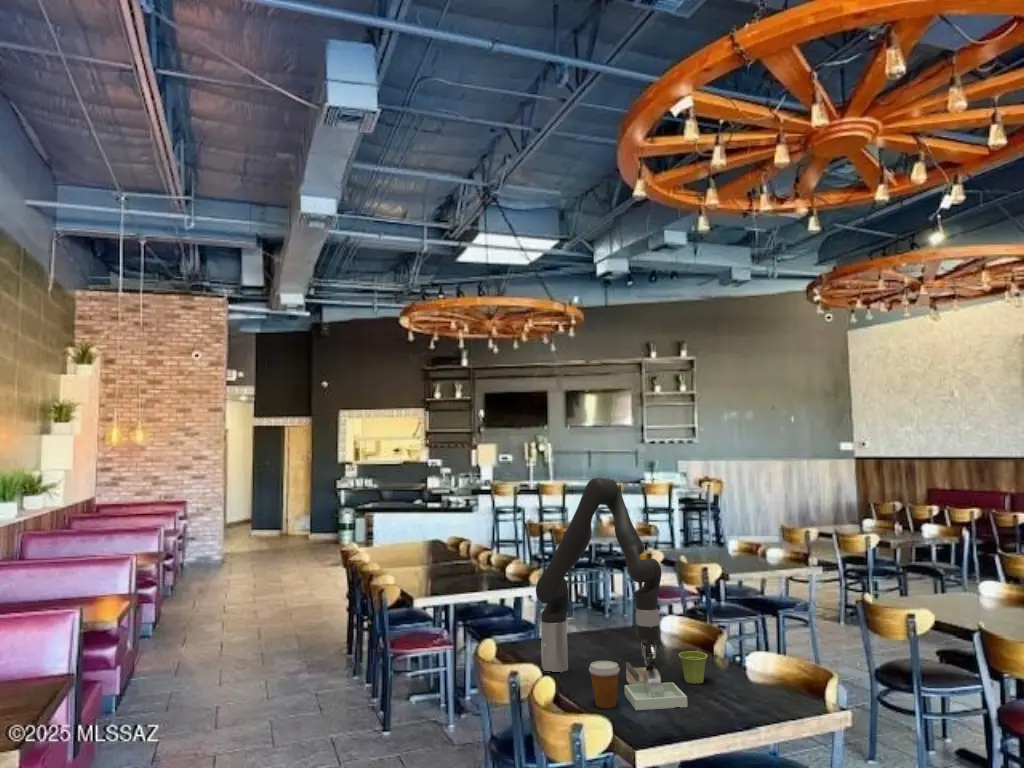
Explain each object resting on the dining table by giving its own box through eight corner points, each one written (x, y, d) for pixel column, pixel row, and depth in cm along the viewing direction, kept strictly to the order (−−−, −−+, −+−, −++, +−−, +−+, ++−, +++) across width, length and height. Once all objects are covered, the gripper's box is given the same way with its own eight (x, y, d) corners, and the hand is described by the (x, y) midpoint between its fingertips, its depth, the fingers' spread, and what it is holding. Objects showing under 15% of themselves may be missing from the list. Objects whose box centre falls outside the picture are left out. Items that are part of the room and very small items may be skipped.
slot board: (637, 694, 231) (636, 674, 232) (626, 680, 245) (625, 662, 246) (661, 692, 232) (660, 673, 233) (649, 679, 246) (648, 661, 246)
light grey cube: (647, 689, 226) (648, 679, 225) (643, 680, 230) (644, 670, 229) (659, 688, 227) (660, 678, 225) (656, 679, 231) (657, 669, 229)
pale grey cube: (648, 698, 225) (651, 702, 222) (647, 684, 226) (651, 689, 222) (660, 697, 226) (664, 701, 222) (659, 684, 226) (663, 688, 222)
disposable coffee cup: (613, 712, 216) (611, 670, 217) (585, 707, 221) (583, 666, 222) (626, 702, 224) (624, 662, 225) (598, 697, 229) (596, 658, 230)
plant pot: (713, 680, 242) (712, 654, 243) (700, 687, 235) (698, 660, 236) (689, 675, 249) (687, 649, 250) (674, 682, 242) (673, 655, 243)
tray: (635, 710, 217) (635, 699, 217) (624, 694, 231) (624, 685, 231) (687, 707, 218) (687, 696, 219) (673, 691, 232) (673, 682, 233)
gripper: (631, 618, 239) (633, 671, 237) (641, 628, 226) (644, 685, 224) (653, 616, 239) (655, 670, 238) (665, 626, 226) (667, 683, 225)
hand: (650, 677), depth 231 cm, fingers closed
